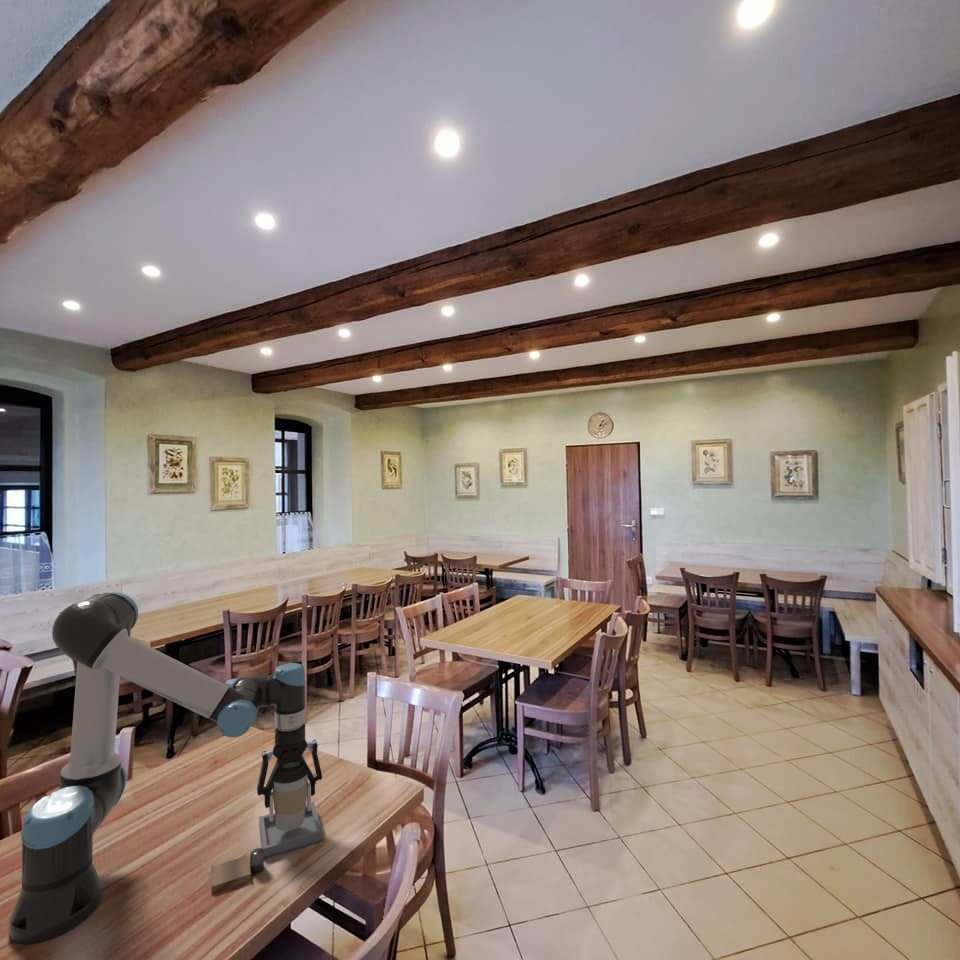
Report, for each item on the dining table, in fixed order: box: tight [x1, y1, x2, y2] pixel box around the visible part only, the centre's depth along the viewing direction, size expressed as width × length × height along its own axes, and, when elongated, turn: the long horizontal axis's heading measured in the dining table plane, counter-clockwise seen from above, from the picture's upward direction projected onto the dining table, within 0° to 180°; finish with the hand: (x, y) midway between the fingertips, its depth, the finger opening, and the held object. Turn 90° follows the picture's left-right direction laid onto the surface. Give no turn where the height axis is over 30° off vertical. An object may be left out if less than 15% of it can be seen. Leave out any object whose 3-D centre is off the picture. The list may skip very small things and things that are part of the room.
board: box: [210, 854, 252, 894], centre depth 118 cm, size 8×7×2 cm
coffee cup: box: [272, 760, 309, 831], centre depth 133 cm, size 9×9×15 cm
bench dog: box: [249, 847, 265, 875], centre depth 120 cm, size 3×3×4 cm
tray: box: [258, 801, 324, 860], centre depth 133 cm, size 14×14×2 cm
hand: (290, 813), depth 133 cm, fingers closed on coffee cup, 8 cm apart
